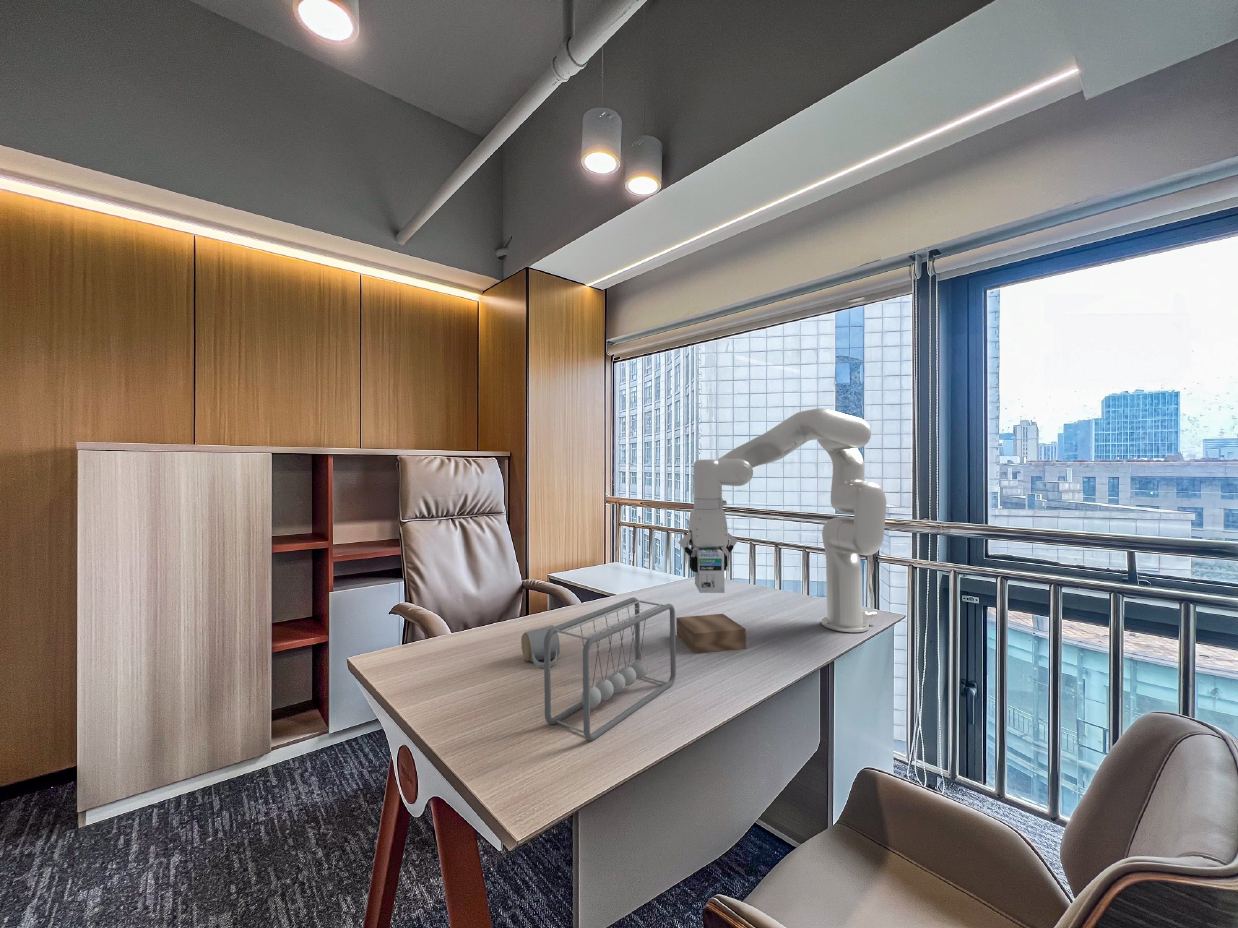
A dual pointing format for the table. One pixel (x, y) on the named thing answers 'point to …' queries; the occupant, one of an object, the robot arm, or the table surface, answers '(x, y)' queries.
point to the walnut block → (711, 633)
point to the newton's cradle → (615, 680)
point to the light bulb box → (710, 570)
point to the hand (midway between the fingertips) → (708, 570)
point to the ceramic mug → (539, 646)
